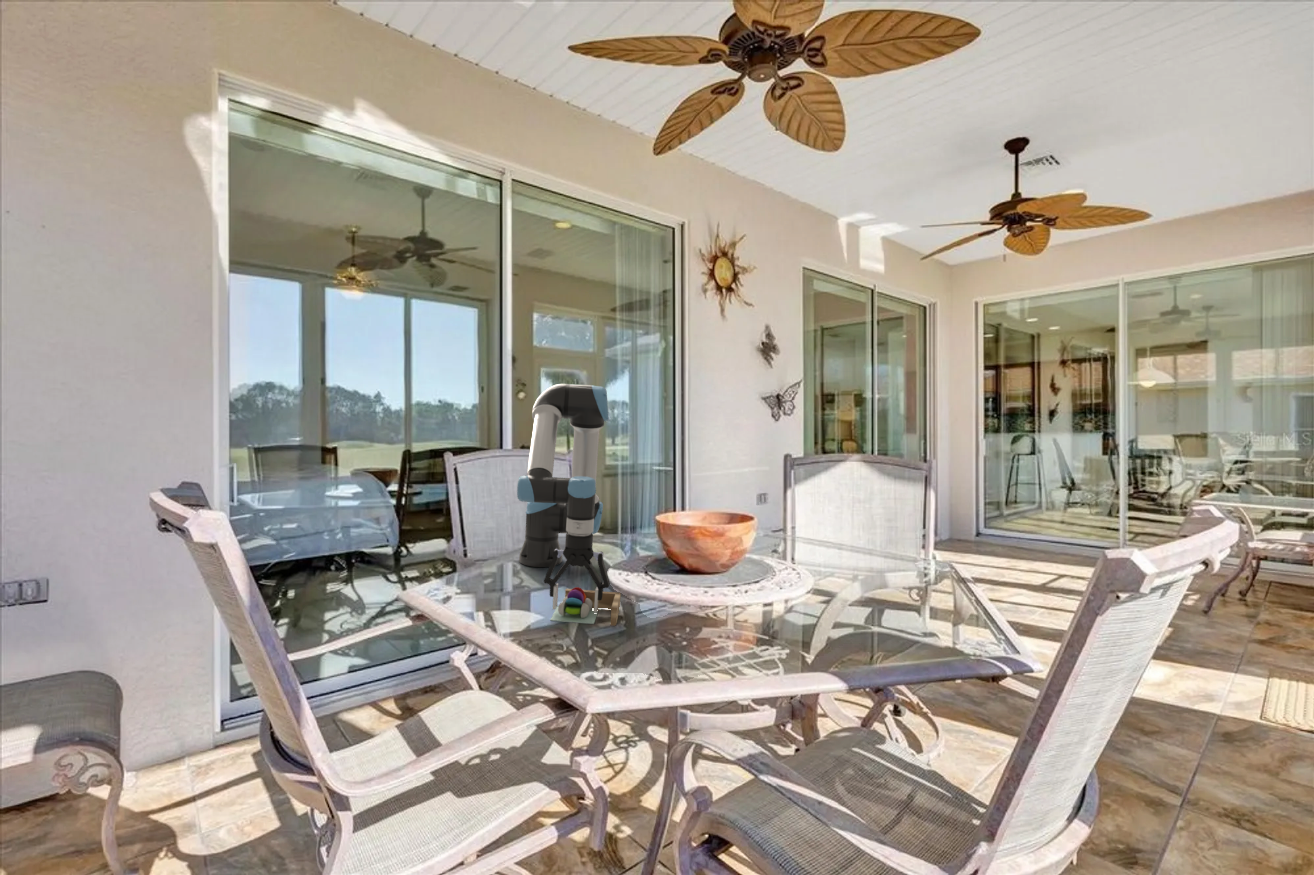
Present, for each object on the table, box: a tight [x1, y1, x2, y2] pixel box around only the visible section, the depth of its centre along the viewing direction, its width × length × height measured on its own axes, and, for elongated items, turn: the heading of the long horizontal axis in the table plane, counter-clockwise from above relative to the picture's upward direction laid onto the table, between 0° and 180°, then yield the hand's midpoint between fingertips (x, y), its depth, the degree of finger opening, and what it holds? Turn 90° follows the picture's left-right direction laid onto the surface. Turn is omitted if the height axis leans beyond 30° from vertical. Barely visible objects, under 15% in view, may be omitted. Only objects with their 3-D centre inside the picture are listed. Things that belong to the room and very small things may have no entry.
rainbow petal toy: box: [558, 586, 592, 618], centre depth 174 cm, size 8×10×7 cm
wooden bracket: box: [564, 588, 622, 626], centre depth 175 cm, size 12×16×5 cm
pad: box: [550, 605, 599, 625], centre depth 174 cm, size 10×12×1 cm
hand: (575, 609), depth 174 cm, fingers open, 11 cm apart
